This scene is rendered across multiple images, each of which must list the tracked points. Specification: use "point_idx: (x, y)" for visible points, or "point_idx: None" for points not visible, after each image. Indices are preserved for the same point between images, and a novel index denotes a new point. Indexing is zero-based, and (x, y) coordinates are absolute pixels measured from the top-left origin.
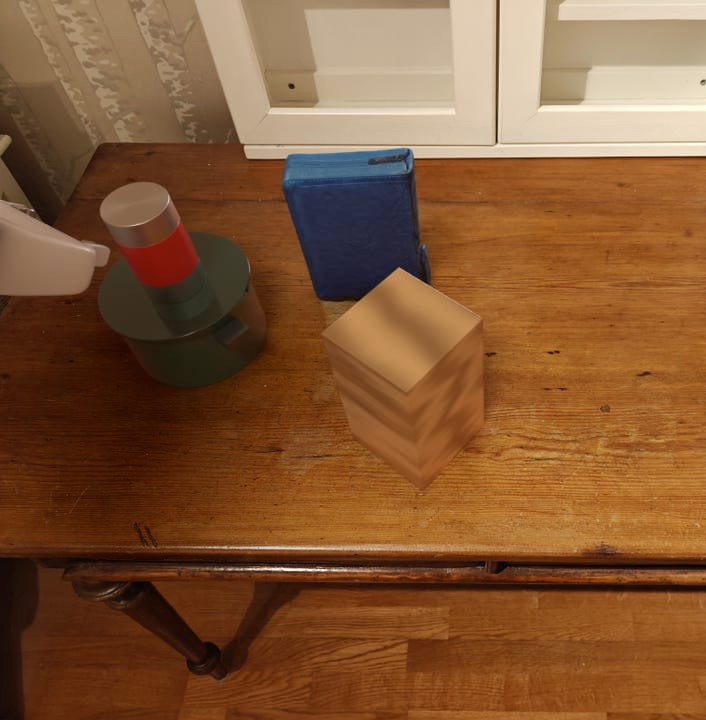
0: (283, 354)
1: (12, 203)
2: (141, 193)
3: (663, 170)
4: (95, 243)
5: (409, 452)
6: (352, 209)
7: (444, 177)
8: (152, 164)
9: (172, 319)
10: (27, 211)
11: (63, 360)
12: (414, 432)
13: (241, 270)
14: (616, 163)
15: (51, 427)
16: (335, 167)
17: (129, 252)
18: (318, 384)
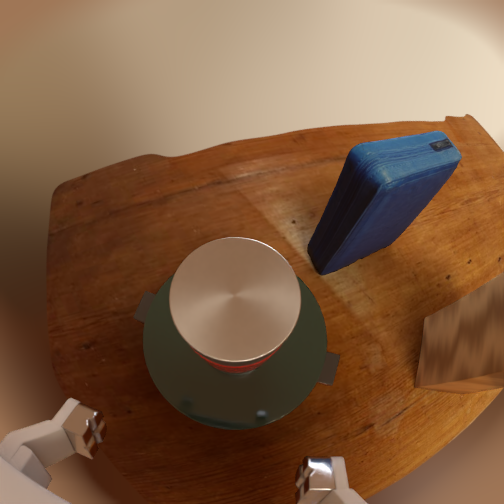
0: None
1: (59, 419)
2: (230, 267)
3: (426, 126)
4: (326, 471)
5: (490, 388)
6: (416, 197)
7: (327, 139)
8: (89, 184)
9: (269, 390)
10: (91, 422)
11: (121, 412)
12: None
13: (301, 293)
14: (405, 123)
15: (162, 477)
16: (415, 157)
17: (237, 368)
18: (367, 357)
